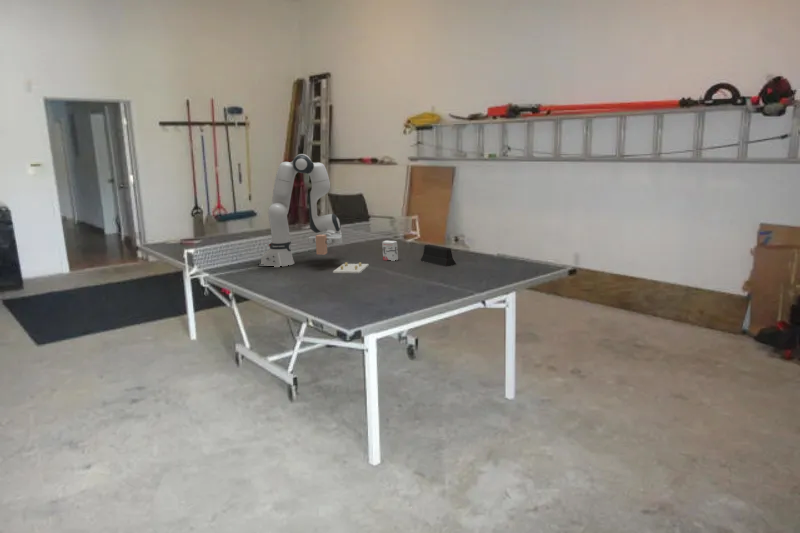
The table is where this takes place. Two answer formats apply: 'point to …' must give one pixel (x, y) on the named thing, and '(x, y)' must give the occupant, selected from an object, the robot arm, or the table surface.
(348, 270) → the mounting plate
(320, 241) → the terracotta block
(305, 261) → the table surface
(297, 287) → the table surface
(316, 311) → the table surface
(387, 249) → the ink box
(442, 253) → the barrier
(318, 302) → the table surface
